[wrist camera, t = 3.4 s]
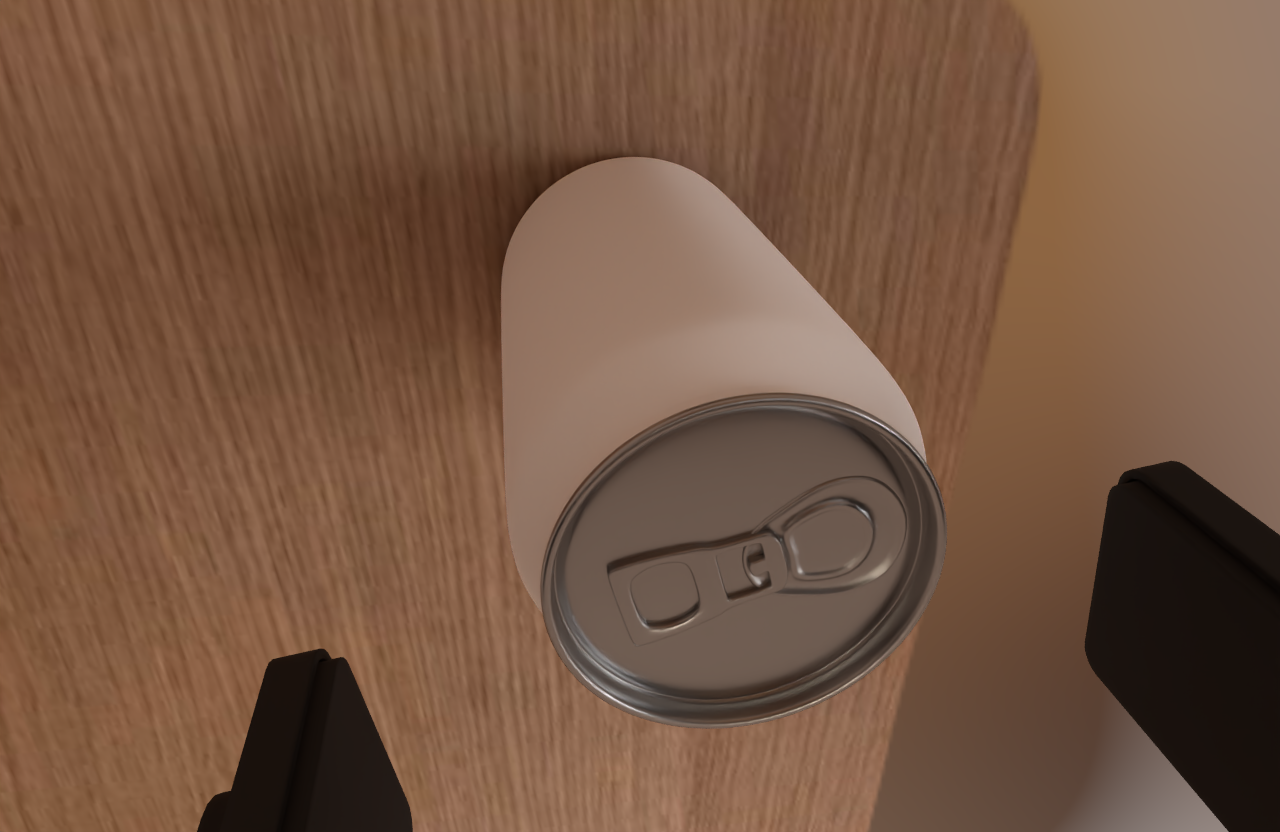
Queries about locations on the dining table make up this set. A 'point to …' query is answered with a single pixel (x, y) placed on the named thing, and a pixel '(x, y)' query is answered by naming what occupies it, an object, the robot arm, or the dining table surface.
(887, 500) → the can
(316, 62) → the dining table surface
